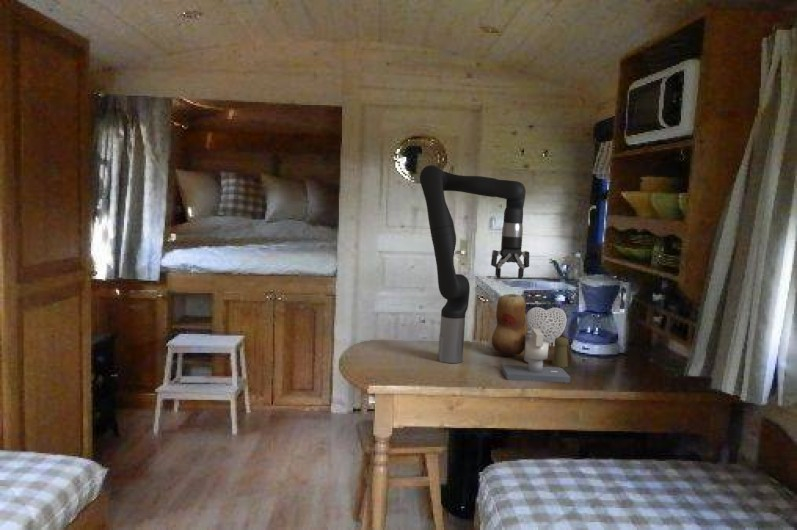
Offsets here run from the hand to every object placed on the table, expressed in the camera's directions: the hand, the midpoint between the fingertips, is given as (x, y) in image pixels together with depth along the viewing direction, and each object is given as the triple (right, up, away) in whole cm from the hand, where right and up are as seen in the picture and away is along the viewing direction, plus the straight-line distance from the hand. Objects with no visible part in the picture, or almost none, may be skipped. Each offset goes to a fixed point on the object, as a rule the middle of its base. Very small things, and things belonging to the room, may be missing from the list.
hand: (509, 278), depth 230 cm
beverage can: (+10, -33, +9) cm, 36 cm away
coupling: (+8, -28, -11) cm, 31 cm away
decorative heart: (+21, -31, +36) cm, 52 cm away
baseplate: (+7, -35, -10) cm, 37 cm away
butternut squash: (+3, -32, +17) cm, 36 cm away
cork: (+20, -34, +6) cm, 40 cm away
